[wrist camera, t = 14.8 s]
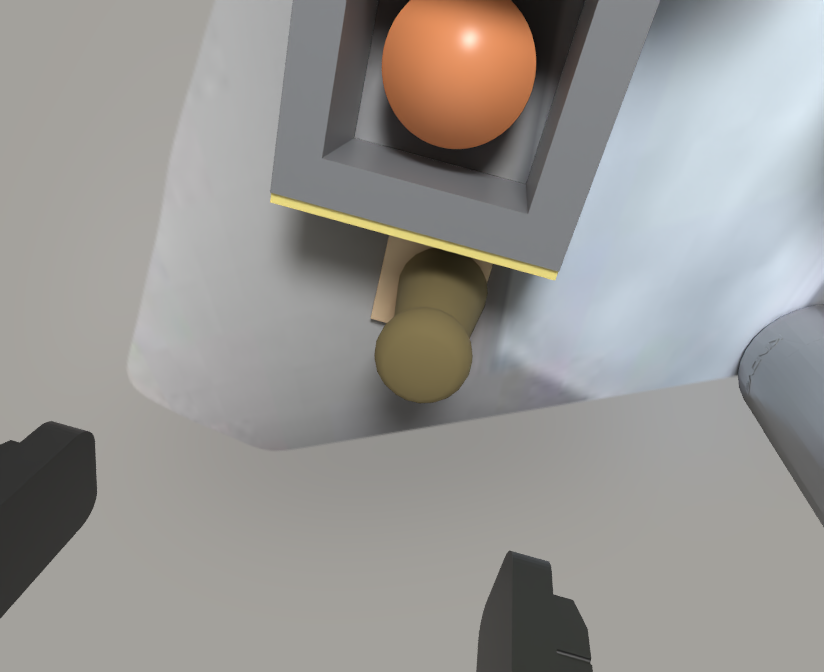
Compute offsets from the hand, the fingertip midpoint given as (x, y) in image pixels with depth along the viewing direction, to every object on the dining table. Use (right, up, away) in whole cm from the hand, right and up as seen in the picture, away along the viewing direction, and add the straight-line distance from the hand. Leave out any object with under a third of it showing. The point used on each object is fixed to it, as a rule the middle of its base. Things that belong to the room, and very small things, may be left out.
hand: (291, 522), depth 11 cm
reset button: (+5, +19, +23) cm, 30 cm away
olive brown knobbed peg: (+4, +7, +29) cm, 30 cm away
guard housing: (+5, +19, +23) cm, 31 cm away
